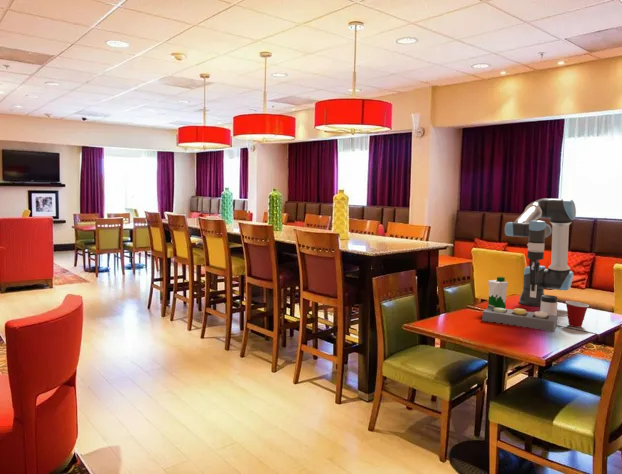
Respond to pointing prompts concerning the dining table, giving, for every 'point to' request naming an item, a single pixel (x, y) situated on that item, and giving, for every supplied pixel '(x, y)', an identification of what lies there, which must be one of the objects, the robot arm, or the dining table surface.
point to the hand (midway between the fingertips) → (532, 297)
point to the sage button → (500, 310)
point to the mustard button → (520, 311)
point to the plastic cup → (576, 313)
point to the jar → (549, 304)
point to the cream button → (540, 314)
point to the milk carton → (497, 293)
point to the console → (520, 319)
